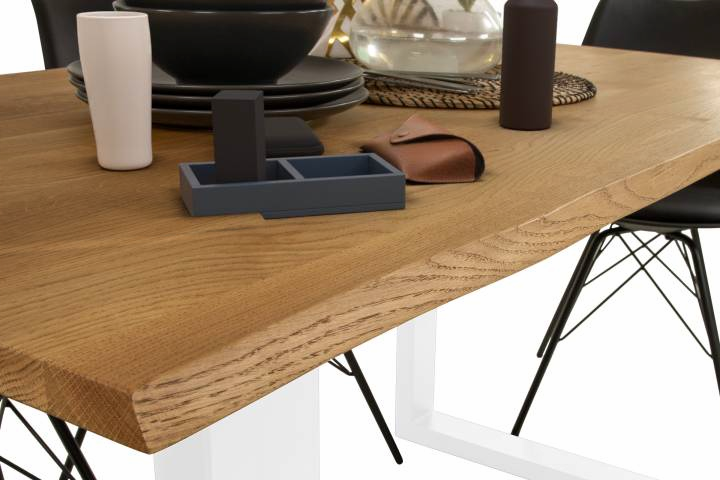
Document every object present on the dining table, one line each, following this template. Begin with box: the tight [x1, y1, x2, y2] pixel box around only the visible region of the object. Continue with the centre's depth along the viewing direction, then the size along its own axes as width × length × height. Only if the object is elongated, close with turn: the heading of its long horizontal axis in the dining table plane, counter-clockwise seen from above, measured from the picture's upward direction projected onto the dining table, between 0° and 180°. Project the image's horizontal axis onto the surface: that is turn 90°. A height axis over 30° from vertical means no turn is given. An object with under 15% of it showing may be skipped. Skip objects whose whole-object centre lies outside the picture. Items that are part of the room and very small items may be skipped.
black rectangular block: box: [210, 89, 267, 184], centre depth 88 cm, size 4×5×9 cm
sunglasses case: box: [358, 112, 486, 185], centre depth 106 cm, size 18×7×7 cm, turn 22°
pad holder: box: [178, 152, 406, 220], centre depth 90 cm, size 10×18×3 cm, turn 111°
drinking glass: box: [76, 11, 154, 171], centre depth 100 cm, size 7×7×15 cm
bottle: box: [498, 0, 559, 131], centre depth 126 cm, size 7×7×20 cm
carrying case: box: [264, 116, 325, 159], centre depth 109 cm, size 11×3×15 cm
